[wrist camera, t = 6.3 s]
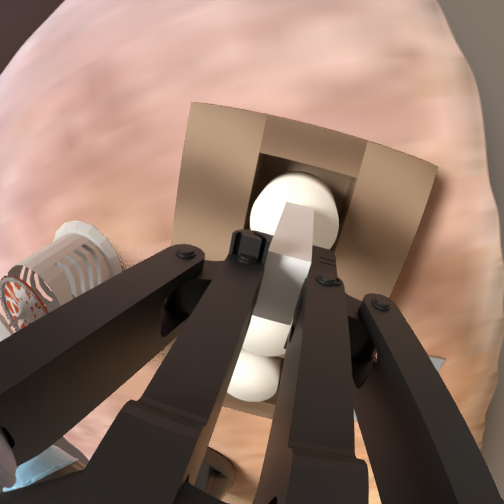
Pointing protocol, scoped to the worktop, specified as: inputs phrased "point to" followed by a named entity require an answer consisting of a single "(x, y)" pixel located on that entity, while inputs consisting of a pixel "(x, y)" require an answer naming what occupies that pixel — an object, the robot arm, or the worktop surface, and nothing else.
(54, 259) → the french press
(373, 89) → the worktop surface
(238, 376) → the button
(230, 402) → the board
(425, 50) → the worktop surface
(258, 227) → the button
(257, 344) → the button
